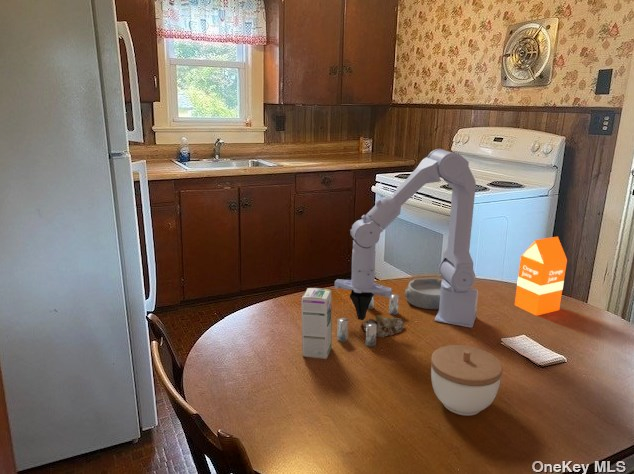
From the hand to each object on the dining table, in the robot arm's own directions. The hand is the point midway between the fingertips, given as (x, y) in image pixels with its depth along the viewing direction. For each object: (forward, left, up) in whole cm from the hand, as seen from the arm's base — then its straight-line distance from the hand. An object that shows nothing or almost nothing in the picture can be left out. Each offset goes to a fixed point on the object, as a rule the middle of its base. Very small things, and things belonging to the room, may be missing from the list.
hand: (361, 318), depth 124 cm
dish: (-13, -22, -2) cm, 25 cm away
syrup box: (+4, +18, -2) cm, 19 cm away
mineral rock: (-6, +1, -2) cm, 7 cm away
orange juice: (-41, -30, -2) cm, 51 cm away
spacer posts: (-2, 0, -1) cm, 3 cm away
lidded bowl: (-29, +24, -2) cm, 37 cm away
